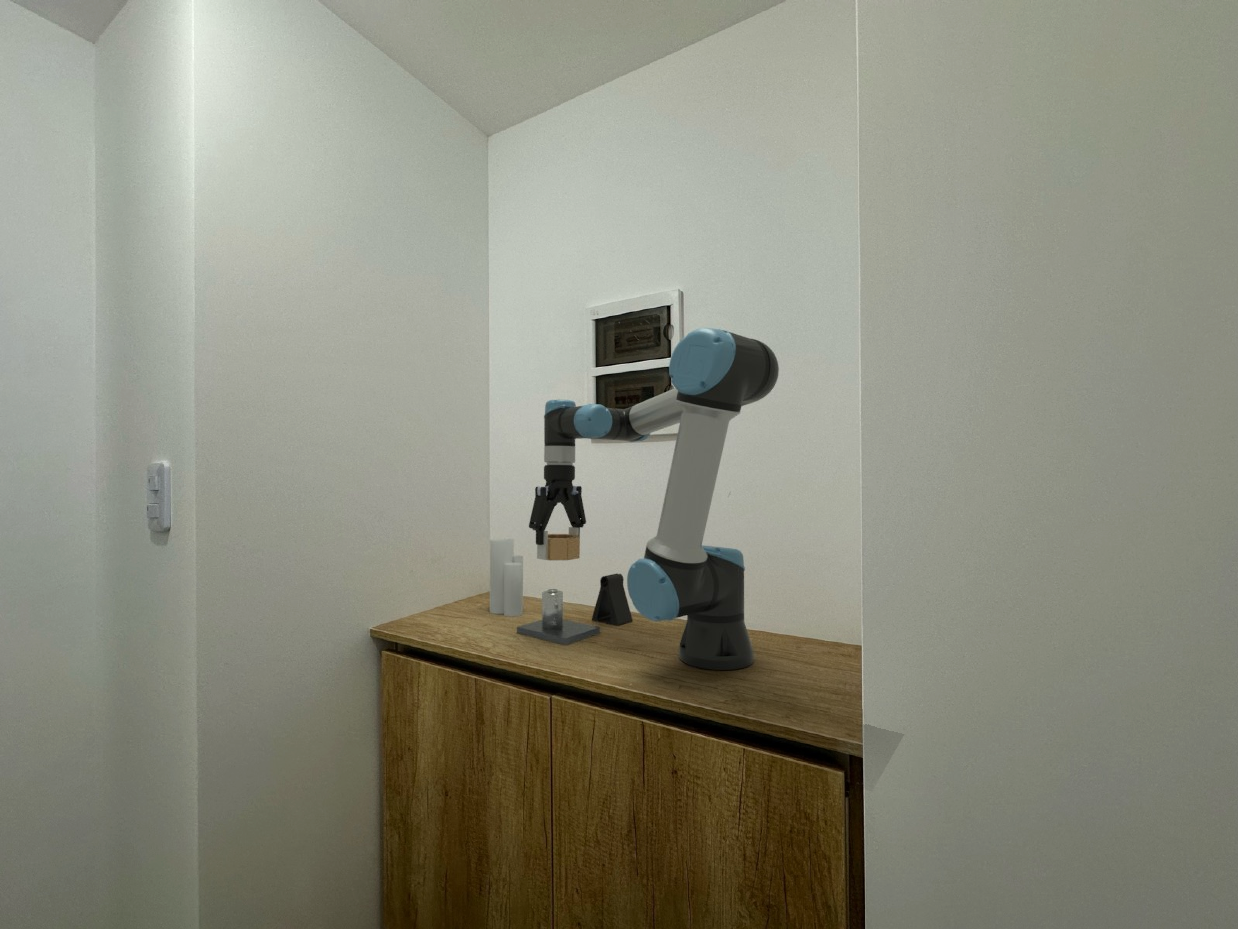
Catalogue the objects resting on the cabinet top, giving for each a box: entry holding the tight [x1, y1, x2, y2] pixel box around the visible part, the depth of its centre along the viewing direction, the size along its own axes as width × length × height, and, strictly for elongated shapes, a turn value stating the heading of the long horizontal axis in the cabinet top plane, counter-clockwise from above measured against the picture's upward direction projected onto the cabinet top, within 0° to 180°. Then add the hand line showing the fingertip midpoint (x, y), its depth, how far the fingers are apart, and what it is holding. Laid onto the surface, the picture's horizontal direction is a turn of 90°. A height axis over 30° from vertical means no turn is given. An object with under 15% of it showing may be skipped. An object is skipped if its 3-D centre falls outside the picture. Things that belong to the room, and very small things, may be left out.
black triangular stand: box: [591, 573, 633, 627], centre depth 146 cm, size 9×6×12 cm, turn 50°
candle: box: [489, 538, 524, 618], centre depth 155 cm, size 11×7×20 cm, turn 56°
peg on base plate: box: [516, 588, 601, 646], centre depth 134 cm, size 16×12×10 cm
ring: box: [537, 533, 581, 561], centre depth 135 cm, size 10×10×5 cm
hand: (558, 556), depth 135 cm, fingers closed on ring, 10 cm apart
